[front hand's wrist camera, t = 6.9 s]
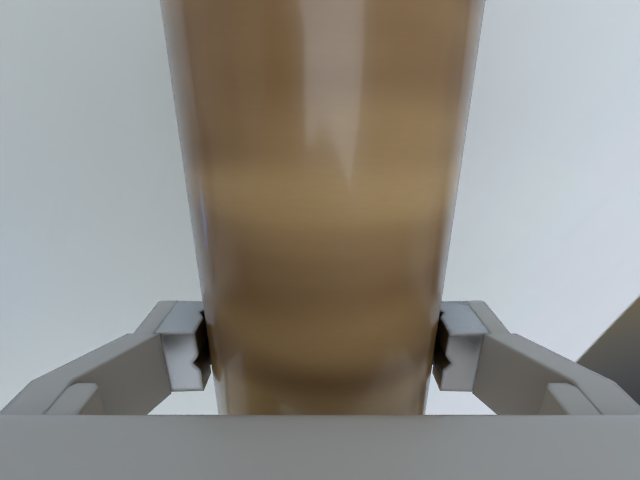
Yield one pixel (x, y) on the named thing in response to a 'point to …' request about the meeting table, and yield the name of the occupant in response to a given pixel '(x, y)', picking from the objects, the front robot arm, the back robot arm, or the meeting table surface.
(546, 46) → the meeting table surface
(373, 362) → the rod
